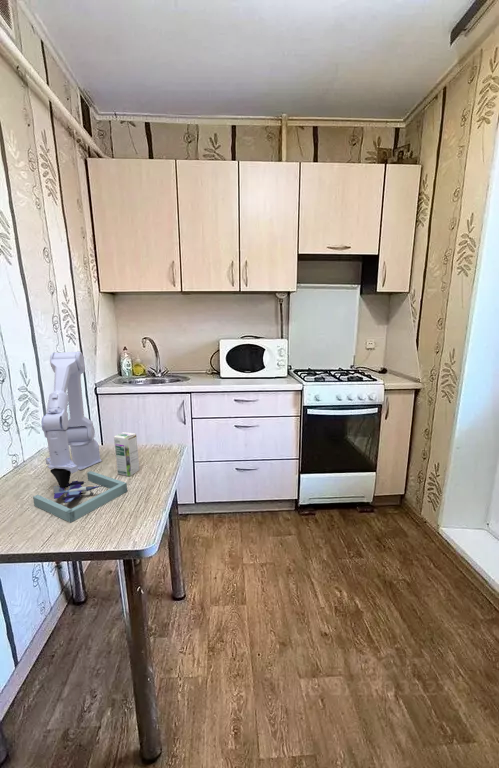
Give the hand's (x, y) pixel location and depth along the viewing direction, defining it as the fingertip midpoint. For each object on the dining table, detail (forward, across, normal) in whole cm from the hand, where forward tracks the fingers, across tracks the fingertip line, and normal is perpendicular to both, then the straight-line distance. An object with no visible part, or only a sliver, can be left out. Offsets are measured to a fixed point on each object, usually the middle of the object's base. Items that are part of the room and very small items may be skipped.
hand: (64, 488), depth 119 cm
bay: (+1, +8, 0) cm, 8 cm away
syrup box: (+1, +7, +20) cm, 21 cm away
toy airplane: (+1, +8, 0) cm, 8 cm away
